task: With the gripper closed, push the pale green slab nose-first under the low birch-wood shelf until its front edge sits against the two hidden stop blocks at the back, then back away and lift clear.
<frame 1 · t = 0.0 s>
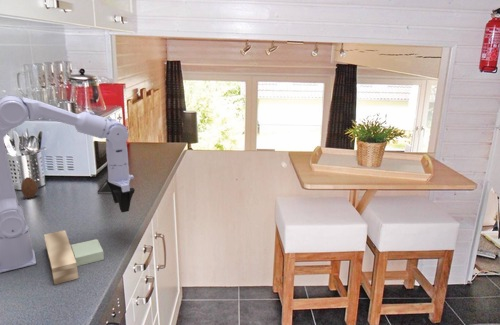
hand: (121, 206, 117), 10 cm above the counter, tool pointing down, fingers open, 7 cm apart
pale green slab: (87, 256, 110), on the counter
coconut: (30, 198, 148), on the counter
overhang shelf: (61, 262, 106), on the counter
phone: (112, 188, 161), on the counter
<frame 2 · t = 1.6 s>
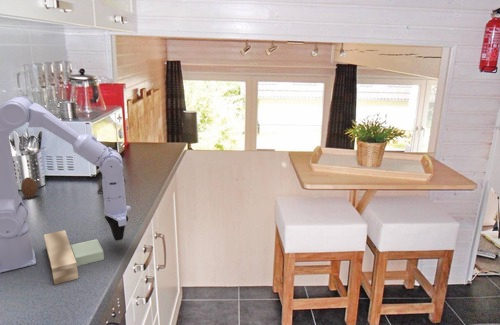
hand: (118, 239, 113), 3 cm above the counter, tool pointing down, fingers closed
nothing on the counter moved.
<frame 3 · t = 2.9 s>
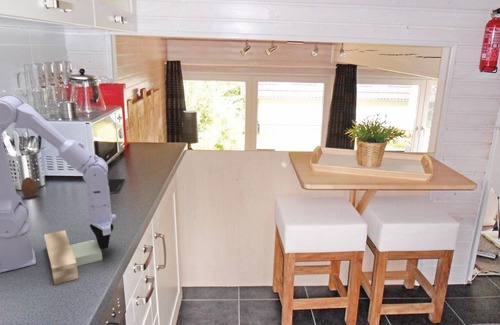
hand: (103, 247, 111), 1 cm above the counter, tool pointing down, fingers closed, pressing on pale green slab
pale green slab: (86, 256, 109), on the counter, touching gripper
everything else where it was.
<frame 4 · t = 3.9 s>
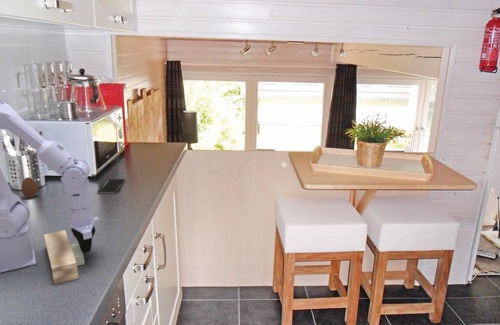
hand: (86, 251, 109), 2 cm above the counter, tool pointing down, fingers closed, pressing on pale green slab
pale green slab: (68, 260, 107), on the counter, touching gripper, overhang shelf
everything else where it was.
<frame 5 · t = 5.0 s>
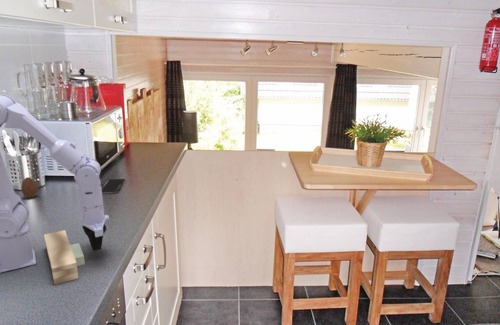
hand: (96, 249, 110), 1 cm above the counter, tool pointing down, fingers closed
pale green slab: (68, 260, 107), on the counter
everything else where it was.
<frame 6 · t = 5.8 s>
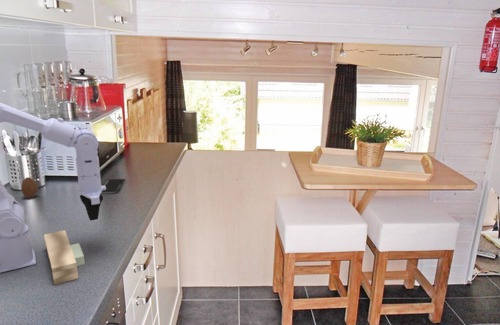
hand: (93, 219, 112), 9 cm above the counter, tool pointing down, fingers closed
nothing on the counter moved.
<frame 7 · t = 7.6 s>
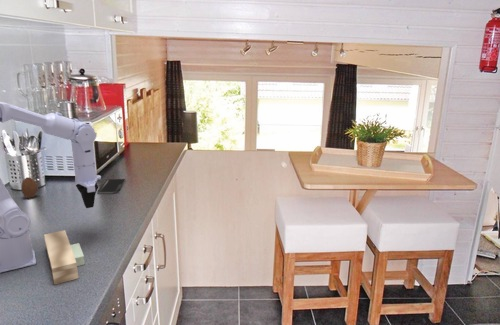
hand: (89, 206, 118), 9 cm above the counter, tool pointing down, fingers closed
nothing on the counter moved.
at the end: pale green slab 0.0 cm from the target spot, on the counter; pale green slab tilted 0°; pale green slab moved 4.9 cm from its start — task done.
